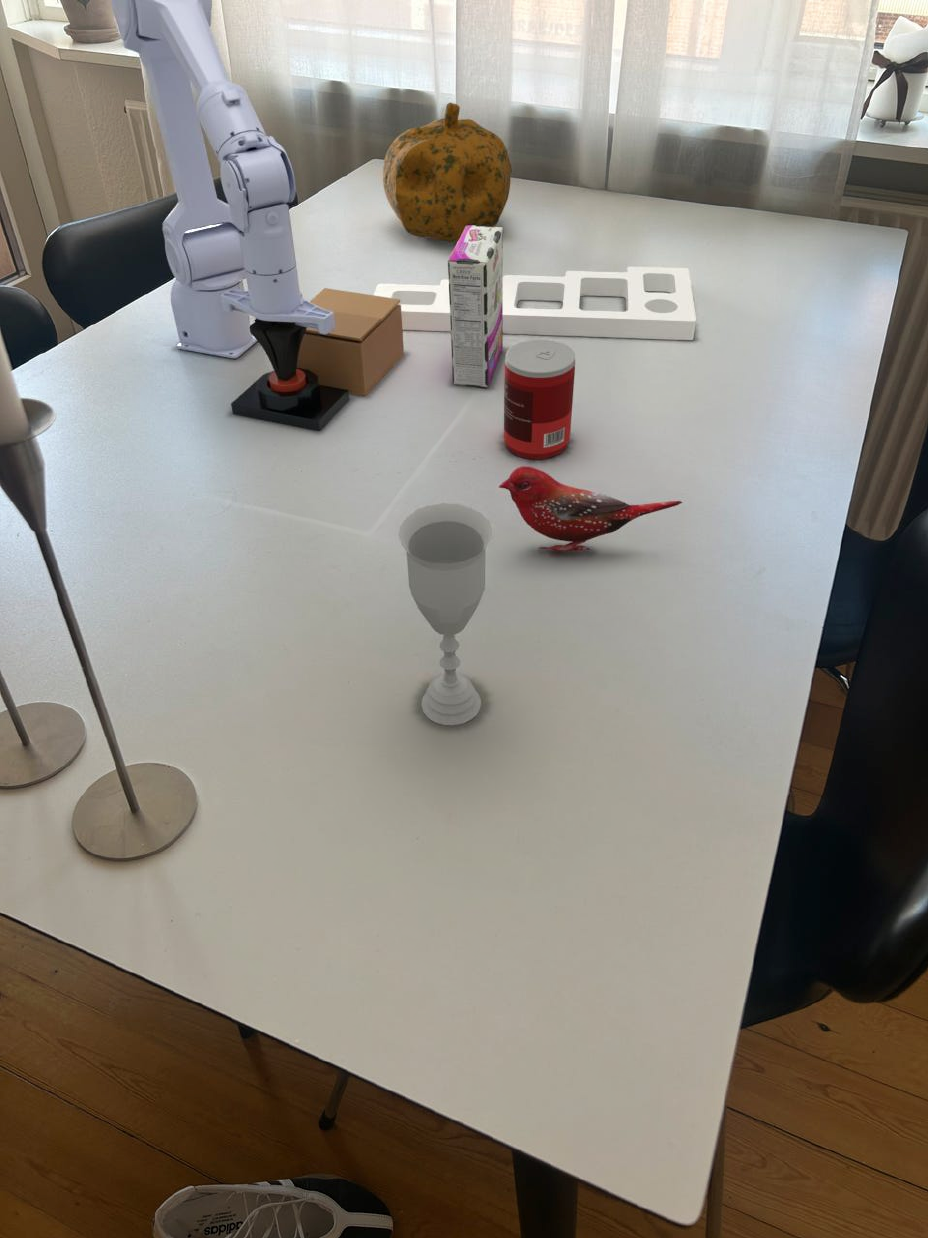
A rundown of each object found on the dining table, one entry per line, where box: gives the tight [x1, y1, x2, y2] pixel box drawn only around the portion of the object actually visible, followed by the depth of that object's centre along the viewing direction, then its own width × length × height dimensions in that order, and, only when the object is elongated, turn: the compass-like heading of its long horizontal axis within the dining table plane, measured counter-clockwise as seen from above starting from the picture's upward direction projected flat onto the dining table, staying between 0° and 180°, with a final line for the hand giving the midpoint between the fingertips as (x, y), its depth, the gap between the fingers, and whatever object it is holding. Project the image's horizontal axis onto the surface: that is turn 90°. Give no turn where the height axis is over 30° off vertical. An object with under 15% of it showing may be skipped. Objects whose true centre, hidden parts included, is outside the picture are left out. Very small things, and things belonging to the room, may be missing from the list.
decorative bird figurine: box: [498, 465, 683, 553], centre depth 94 cm, size 3×18×10 cm, turn 88°
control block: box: [230, 368, 350, 432], centre depth 118 cm, size 12×8×4 cm, turn 69°
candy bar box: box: [447, 225, 504, 388], centre depth 121 cm, size 11×5×16 cm, turn 168°
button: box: [269, 369, 307, 392], centre depth 117 cm, size 4×4×2 cm
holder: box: [372, 266, 697, 341], centre depth 139 cm, size 45×18×3 cm, turn 83°
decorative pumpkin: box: [382, 101, 513, 243], centre depth 156 cm, size 20×21×20 cm
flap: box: [309, 287, 400, 321], centre depth 124 cm, size 6×11×1 cm, turn 69°
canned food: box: [503, 339, 576, 460], centre depth 109 cm, size 8×8×11 cm
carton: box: [297, 305, 405, 397], centre depth 124 cm, size 12×11×8 cm
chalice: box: [398, 502, 493, 726], centre depth 76 cm, size 7×7×18 cm
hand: (287, 376), depth 117 cm, fingers closed, pressing on button
